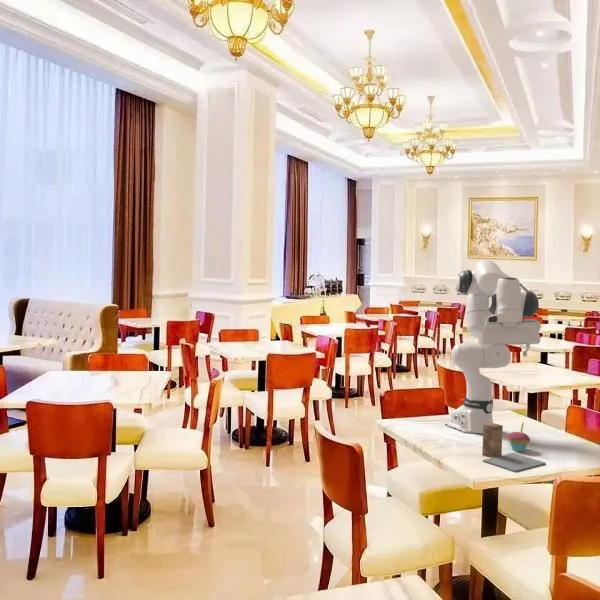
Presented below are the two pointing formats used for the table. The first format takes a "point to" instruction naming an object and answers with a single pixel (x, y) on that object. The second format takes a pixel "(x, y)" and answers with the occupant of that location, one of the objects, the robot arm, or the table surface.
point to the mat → (514, 462)
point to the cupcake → (518, 440)
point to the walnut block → (492, 440)
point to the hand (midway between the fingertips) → (511, 356)
